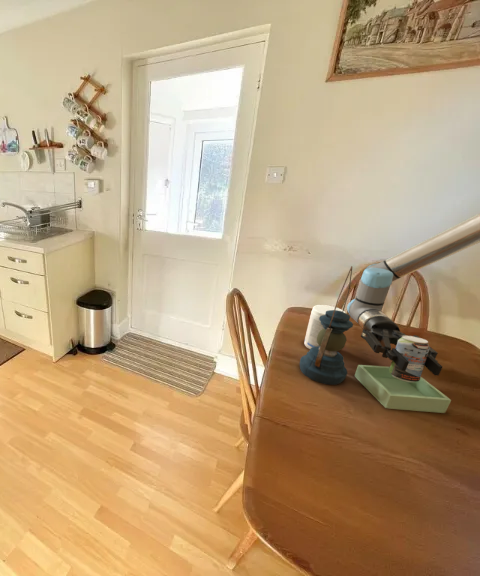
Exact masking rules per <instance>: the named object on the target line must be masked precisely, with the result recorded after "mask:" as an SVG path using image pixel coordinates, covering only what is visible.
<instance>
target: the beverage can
mask: <svg viewBox="0 0 480 576" xmlns="http://www.w3.org/2000/svg"><path fill="white" fill-rule="evenodd" d="M430 347H431V346H430V344H429V341H428V340H427V339H425V338H421V337H419V338H418V337H414V336H413V335H407V334H405V336H402V338H400V339H399V340H398V342H397V345H395V349H396V350H397V351H398V352H399V353H400V354H401V355H402V356H403V357H404V358H405V359H406V360H407V361H408V362H409V363H408V366H407V368H406V371H402V370H401V369H400V368H399V367H398V366H397V365H396V364H395V363H394V361H393V360H391V363H390V366H389V367H390V370H389V373H390V374H392V376H393V377H395V378H397V379H399V380H402V381H406V382H416V381H419V380H420V377H422V374H423V371H424V368H425V366H424V365H425V361H426V358H427V355H428V352H429V349H430Z"/></svg>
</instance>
